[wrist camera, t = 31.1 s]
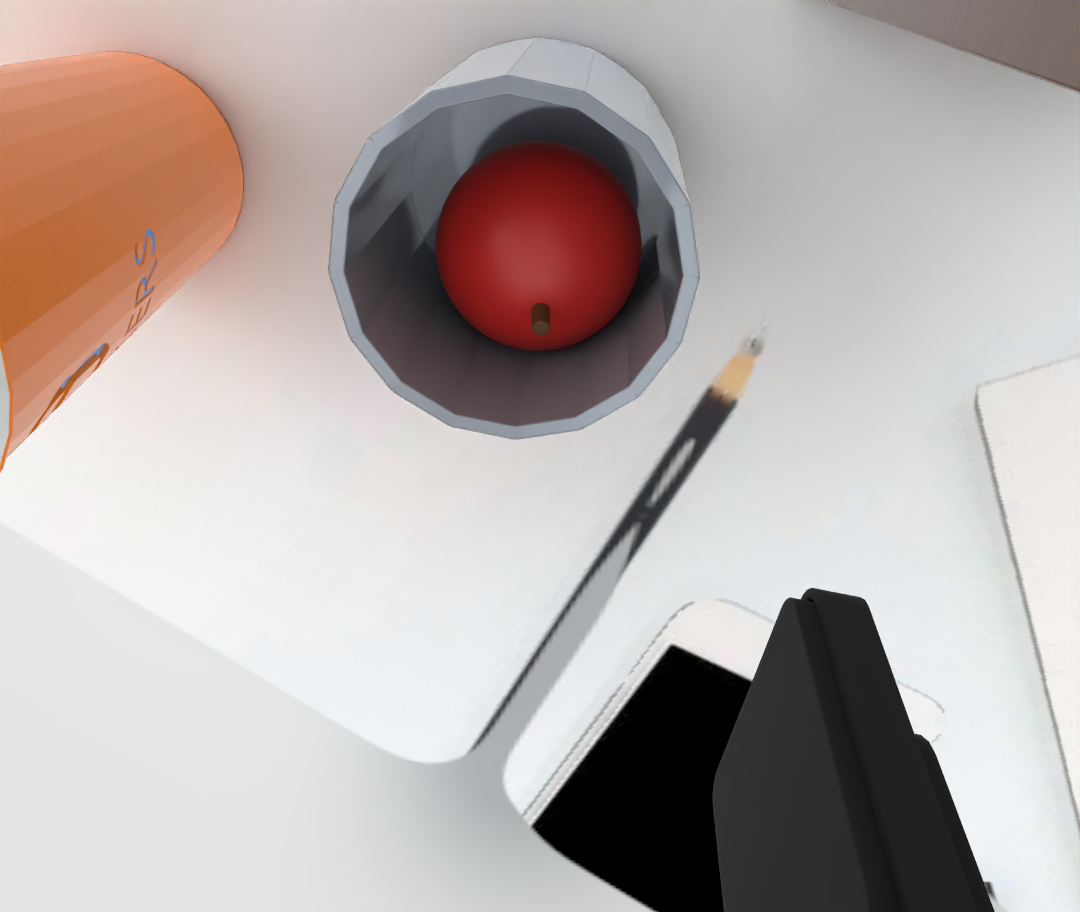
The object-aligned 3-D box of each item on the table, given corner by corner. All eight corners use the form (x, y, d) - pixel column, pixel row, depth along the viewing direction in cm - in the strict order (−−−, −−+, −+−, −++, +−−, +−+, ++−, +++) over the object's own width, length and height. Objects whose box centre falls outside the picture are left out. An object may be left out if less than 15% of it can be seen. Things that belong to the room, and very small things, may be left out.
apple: (452, 87, 28) (440, 215, 23) (654, 119, 29) (681, 250, 24) (432, 259, 32) (417, 398, 28) (608, 283, 33) (624, 422, 28)
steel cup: (422, 10, 29) (346, 40, 21) (710, 71, 29) (742, 124, 21) (389, 288, 33) (316, 400, 25) (641, 340, 33) (647, 467, 26)
